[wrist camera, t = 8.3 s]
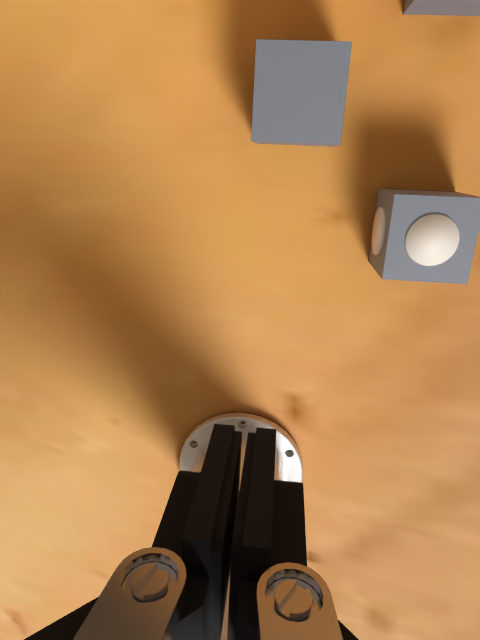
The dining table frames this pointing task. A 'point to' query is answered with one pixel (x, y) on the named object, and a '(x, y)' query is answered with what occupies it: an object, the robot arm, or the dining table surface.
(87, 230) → the dining table surface
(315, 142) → the plain block
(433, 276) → the badge block
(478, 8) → the badge block
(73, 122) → the dining table surface
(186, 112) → the dining table surface
